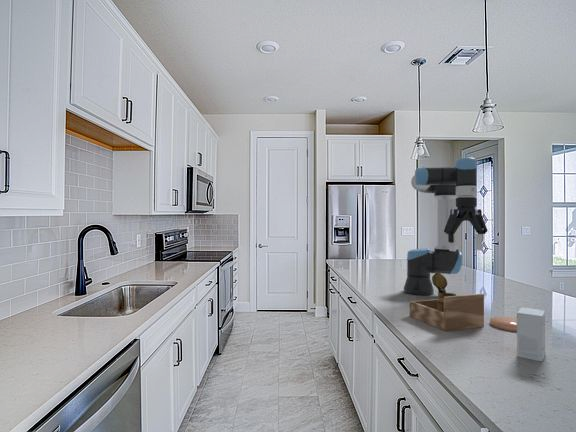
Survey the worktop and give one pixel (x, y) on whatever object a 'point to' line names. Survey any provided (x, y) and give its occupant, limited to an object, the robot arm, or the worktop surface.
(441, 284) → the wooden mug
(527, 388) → the worktop surface
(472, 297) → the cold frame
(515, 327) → the peach round disc
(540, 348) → the small box
